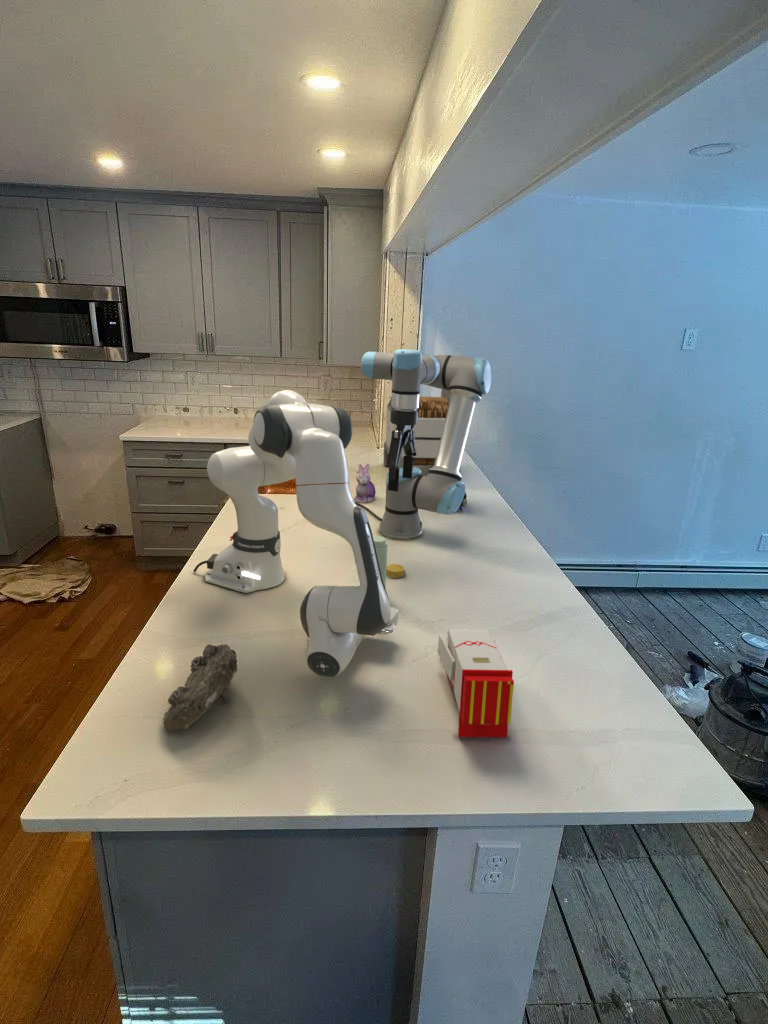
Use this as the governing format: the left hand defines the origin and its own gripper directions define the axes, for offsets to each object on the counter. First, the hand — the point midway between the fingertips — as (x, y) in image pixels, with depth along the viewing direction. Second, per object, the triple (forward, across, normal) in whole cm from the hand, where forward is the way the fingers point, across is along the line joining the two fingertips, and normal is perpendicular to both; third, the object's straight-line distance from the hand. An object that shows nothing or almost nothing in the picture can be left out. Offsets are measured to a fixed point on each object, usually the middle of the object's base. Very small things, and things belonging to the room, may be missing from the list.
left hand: (364, 598), depth 141 cm
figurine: (+92, +26, +6) cm, 96 cm away
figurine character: (+97, -11, +6) cm, 97 cm away
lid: (+29, -1, +5) cm, 30 cm away
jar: (+13, 0, +6) cm, 15 cm away
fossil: (-38, +21, +6) cm, 44 cm away
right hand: (+30, -1, -22) cm, 37 cm away
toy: (-20, -29, +6) cm, 36 cm away
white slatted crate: (+141, +13, +6) cm, 142 cm away
